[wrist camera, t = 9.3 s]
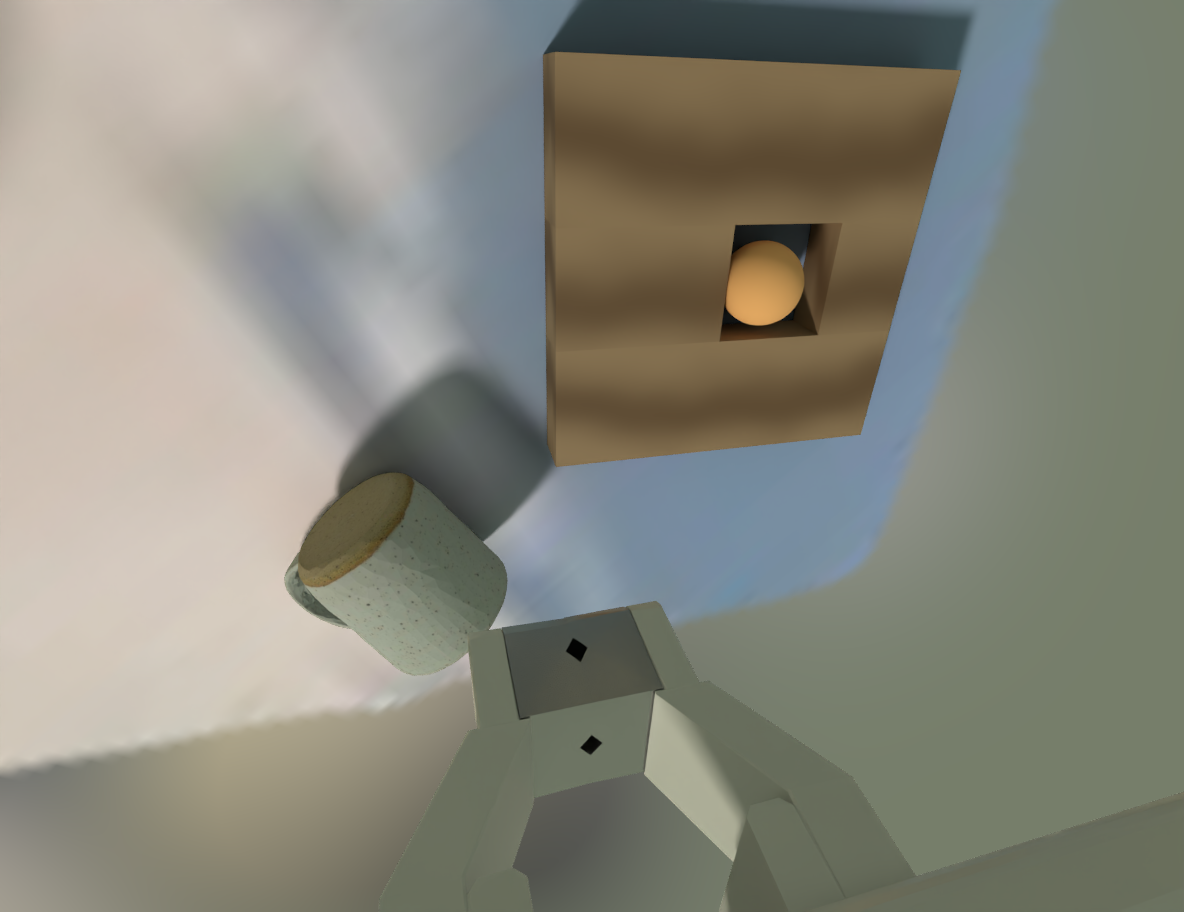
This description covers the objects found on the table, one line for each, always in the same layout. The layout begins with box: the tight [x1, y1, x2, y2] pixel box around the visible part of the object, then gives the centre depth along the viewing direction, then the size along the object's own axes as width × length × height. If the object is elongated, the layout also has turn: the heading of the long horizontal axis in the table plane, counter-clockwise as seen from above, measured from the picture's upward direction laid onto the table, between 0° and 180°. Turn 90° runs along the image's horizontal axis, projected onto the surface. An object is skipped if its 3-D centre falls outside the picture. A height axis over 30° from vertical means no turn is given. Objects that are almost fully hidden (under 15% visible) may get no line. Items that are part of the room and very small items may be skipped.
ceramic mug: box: [284, 472, 507, 676], centre depth 32 cm, size 11×8×8 cm
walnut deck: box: [543, 52, 961, 467], centre depth 31 cm, size 18×18×2 cm
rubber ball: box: [724, 240, 804, 325], centre depth 30 cm, size 4×4×4 cm
